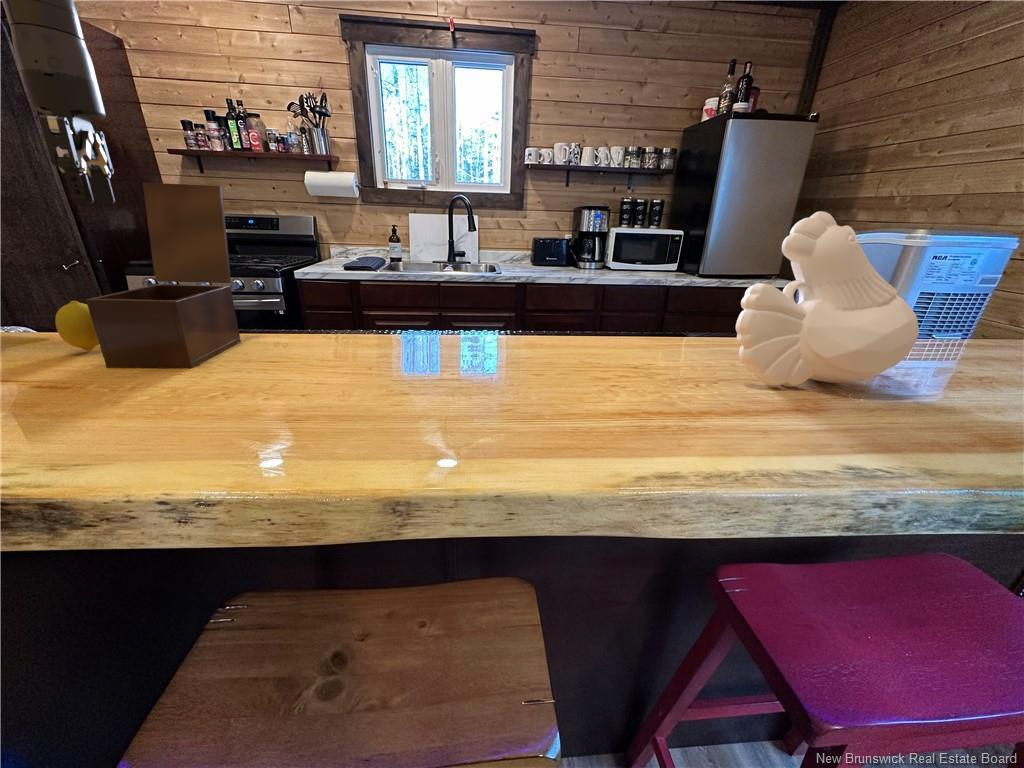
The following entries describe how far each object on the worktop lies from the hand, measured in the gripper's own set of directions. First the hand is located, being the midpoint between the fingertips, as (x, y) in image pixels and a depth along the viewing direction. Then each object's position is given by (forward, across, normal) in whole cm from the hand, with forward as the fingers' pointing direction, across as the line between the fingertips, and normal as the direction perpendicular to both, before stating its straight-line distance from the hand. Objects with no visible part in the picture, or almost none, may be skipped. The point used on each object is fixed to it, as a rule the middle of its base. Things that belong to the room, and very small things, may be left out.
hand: (95, 203), depth 65 cm
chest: (+22, +7, +8) cm, 24 cm away
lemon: (+22, +2, -5) cm, 23 cm away
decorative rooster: (+22, +50, +97) cm, 112 cm away
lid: (+4, -1, +10) cm, 11 cm away
